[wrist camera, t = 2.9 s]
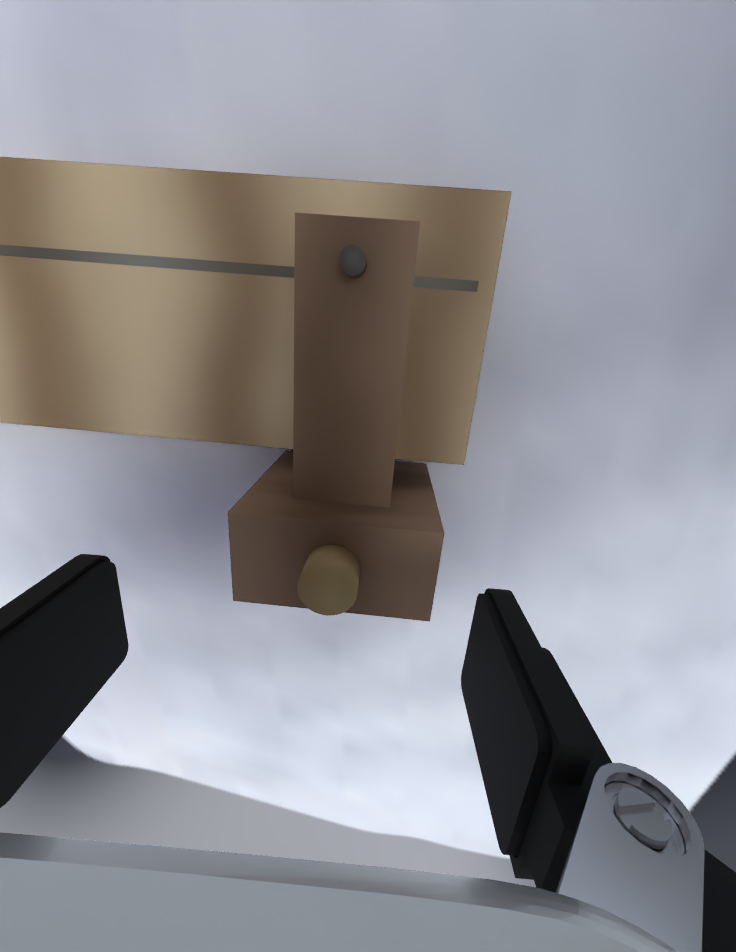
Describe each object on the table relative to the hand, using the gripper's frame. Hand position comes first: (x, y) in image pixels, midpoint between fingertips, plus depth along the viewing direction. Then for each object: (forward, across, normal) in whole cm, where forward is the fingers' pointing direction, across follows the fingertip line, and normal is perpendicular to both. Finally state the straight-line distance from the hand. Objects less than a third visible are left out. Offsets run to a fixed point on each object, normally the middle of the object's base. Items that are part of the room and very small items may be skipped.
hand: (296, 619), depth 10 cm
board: (+8, +9, -7) cm, 14 cm away
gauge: (+7, -1, -4) cm, 9 cm away
